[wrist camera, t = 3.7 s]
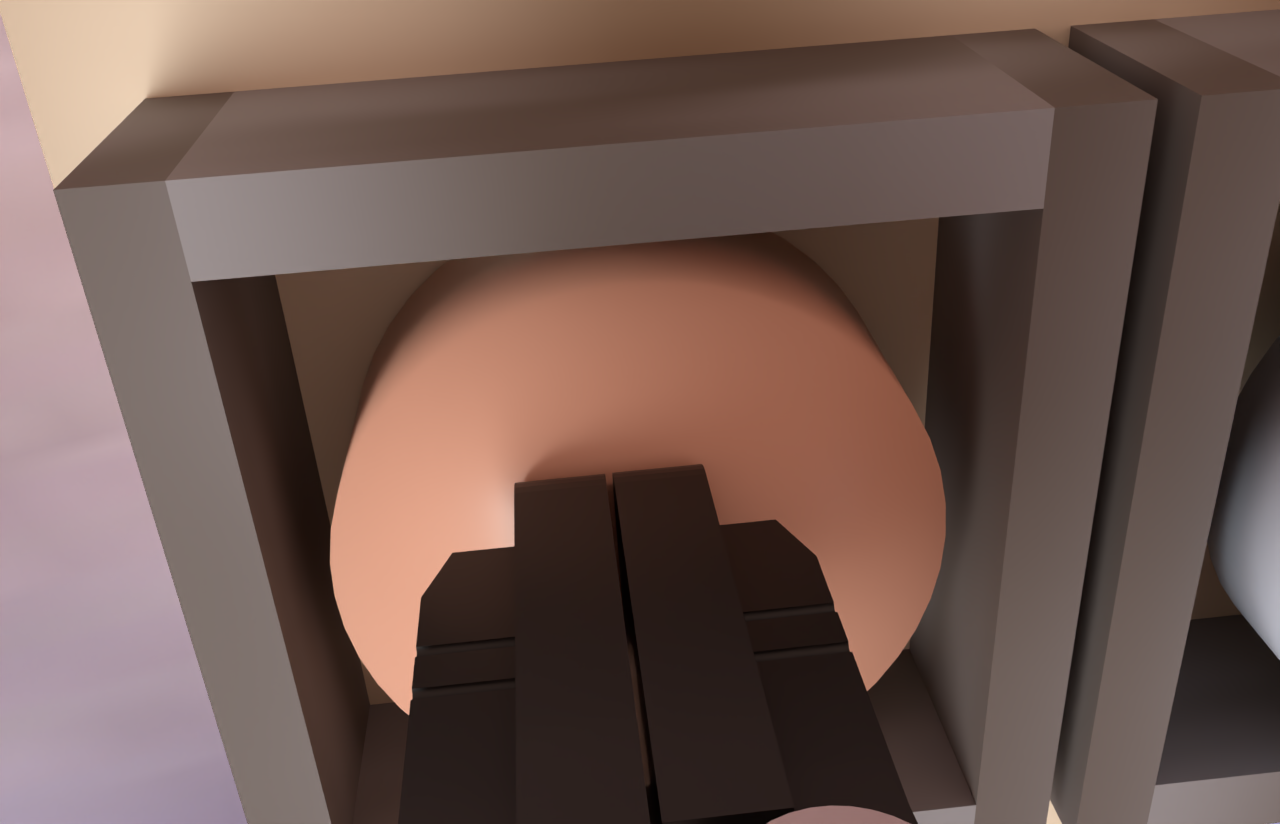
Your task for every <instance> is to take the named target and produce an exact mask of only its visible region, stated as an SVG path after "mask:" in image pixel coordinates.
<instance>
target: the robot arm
mask: <svg viewBox="0 0 1280 824" xmlns="http://www.w3.org/2000/svg"><path fill="white" fill-rule="evenodd" d="M612 479H613V493H614V505H615V517H616V530H617V542H618V554H619V567H620V579H621V591H622V600H621V592H620V585H619V577H618V569H617V561H616V554H615V546H614V538H613V530H612V523H611V515H610V507H609V499H608V491H607V484H606V477H605V474H598V475H588V476H578V477H567V478H557V479H547V480H537V481H527V482H517V483H515V484H514V546H513V547H503V548H493V549H484V550H474V551H464V552H454V553H452V554H451V555H450V557H449V558H448V560H447V561H446V563H445V564H444V565H443V567H442V568H441V570H440V571H439V572H438V574H437V575H436V577H435V578H434V580H433V581H432V582H431V584H430V585H429V587H428V588H427V590H426V591H425V592H424V594H423V595H422V597H421V602H420V612H419V622H418V632H417V642H416V651H417V657H415V661H414V671H413V681H412V700H411V701H410V711H409V720H408V730H407V740H406V750H405V760H404V770H403V780H402V789H401V799H400V809H399V819H398V824H918V822H917V820H916V818H915V816H914V814H913V812H912V810H911V808H910V805H909V803H908V800H907V797H906V795H905V792H904V789H903V787H902V784H901V781H900V779H899V776H898V773H897V771H896V768H895V765H894V762H893V760H892V757H891V754H890V752H889V749H888V746H887V744H886V741H885V738H884V736H883V733H882V730H881V728H880V725H879V722H878V719H877V717H876V714H875V711H874V709H873V706H872V703H871V701H870V698H869V695H868V693H867V690H866V687H865V685H864V682H863V679H862V676H861V674H860V671H859V668H858V666H857V663H856V660H855V658H854V655H853V652H850V650H849V643H848V639H847V636H846V633H845V631H844V628H843V625H842V623H841V620H840V617H839V615H838V612H835V609H834V601H833V599H832V596H831V593H830V590H829V588H828V585H827V582H826V580H825V577H824V574H823V572H822V569H821V566H820V564H819V561H818V558H817V556H816V555H815V554H814V553H813V552H812V551H810V550H809V549H808V548H807V547H806V546H805V545H804V544H803V543H802V542H800V541H799V540H798V539H797V538H796V537H795V536H794V535H793V534H791V533H790V532H789V531H788V530H787V529H786V528H785V527H784V526H783V525H781V524H780V523H779V522H778V521H777V520H776V519H775V520H765V521H755V522H745V523H736V524H726V525H720V524H719V521H718V517H717V513H716V509H715V505H714V502H713V498H712V494H711V490H710V487H709V483H708V479H707V475H706V472H705V469H704V466H703V465H702V464H695V465H685V466H675V467H665V468H655V469H645V470H635V471H625V472H615V473H612ZM622 603H623V608H622Z"/></svg>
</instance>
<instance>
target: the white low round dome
mask: <svg viewBox="0 0 1280 824" xmlns="http://www.w3.org/2000/svg"><path fill="white" fill-rule="evenodd" d="M1207 543H1208V548H1209V553H1210V558H1211V561H1212V564H1213V566H1214V569H1215V571H1216V574H1217V576H1218V579H1219V581H1220V584H1221V585H1222V587H1223V588H1224V590H1225V591H1226V593H1227V594H1228V596H1229V598H1230V599H1231V601H1232V602H1233V604H1234V605H1235V606H1236V608H1237V609H1238V610H1239V611H1240V613H1241V614H1242V615H1243V616H1244V617H1245V619H1246V620H1247V621H1248V622H1249V624H1250V625H1251V626H1252V627H1253V628H1254V630H1255V631H1256V632H1257V633H1258V635H1259V636H1260V637H1261V638H1262V639H1263V641H1264V642H1265V643H1266V644H1267V646H1268V647H1269V648H1270V649H1271V650H1272V652H1273V653H1274V654H1275V655H1276V656H1277V658H1278V659H1279V660H1280V336H1279V337H1278V338H1277V339H1276V340H1275V341H1274V343H1273V344H1272V345H1271V347H1270V348H1269V350H1268V351H1267V352H1266V354H1265V355H1264V357H1263V358H1262V359H1261V361H1260V362H1259V363H1258V365H1257V366H1256V368H1255V369H1254V370H1253V372H1252V373H1251V375H1250V377H1249V378H1248V380H1247V382H1246V384H1245V385H1244V387H1243V389H1242V391H1241V392H1240V394H1239V396H1238V399H1237V404H1236V408H1235V413H1234V418H1233V422H1232V427H1231V432H1230V437H1229V441H1228V446H1227V451H1226V455H1225V460H1224V465H1223V470H1222V474H1221V479H1220V484H1219V488H1218V493H1217V498H1216V502H1215V507H1214V512H1213V517H1212V521H1211V526H1210V531H1209V535H1208V540H1207Z"/></svg>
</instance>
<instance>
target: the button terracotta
mask: <svg viewBox="0 0 1280 824" xmlns="http://www.w3.org/2000/svg"><path fill="white" fill-rule="evenodd" d="M695 464H702V465H703V466H704V469H705V472H706V475H707V479H708V483H709V487H710V490H711V494H712V498H713V502H714V505H715V509H716V513H717V517H718V521H719V524H720V525H726V524H736V523H745V522H755V521H765V520H775V519H776V520H777V521H778V522H779V523H780V524H781V525H783V526H784V527H785V528H786V529H787V530H788V531H789V532H790V533H791V534H793V535H794V536H795V537H796V538H797V539H798V540H799V541H800V542H802V543H803V544H804V545H805V546H806V547H807V548H808V549H809V550H810V551H812V552H813V553H814V554H815V555H816V556H817V558H818V561H819V564H820V566H821V569H822V572H823V574H824V577H825V580H826V582H827V585H828V588H829V590H830V593H831V596H832V599H833V601H834V609H835V612H838V615H839V617H840V620H841V623H842V625H843V628H844V631H845V633H846V636H847V639H848V643H849V650H850V652H853V655H854V658H855V660H856V663H857V666H858V668H859V671H860V674H861V676H862V679H863V682H864V685H865V687H866V690H867V691H868V690H869V689H870V688H871V687H872V686H873V685H874V684H875V683H876V682H877V681H878V680H879V679H880V678H881V677H882V675H883V674H884V673H885V672H886V671H887V669H888V668H889V667H890V666H891V665H892V663H893V662H894V661H895V660H896V659H897V658H898V656H899V655H900V653H901V652H902V650H903V649H904V647H905V646H906V644H907V642H908V641H909V639H910V638H911V636H912V635H913V633H914V632H915V630H916V629H917V626H918V624H919V622H920V620H921V618H922V616H923V614H924V612H925V610H926V608H927V606H928V603H929V601H930V599H931V596H932V593H933V590H934V587H935V584H936V580H937V577H938V574H939V571H940V568H941V561H942V555H943V549H944V543H945V536H946V502H945V495H944V489H943V483H942V476H941V470H940V467H939V464H938V461H937V458H936V455H935V452H934V449H933V446H932V443H931V440H930V437H929V436H928V434H927V432H926V430H925V428H924V426H923V424H922V422H921V420H920V418H919V416H918V414H917V413H916V411H915V409H914V407H913V405H912V403H911V402H910V400H909V398H908V397H907V395H906V393H905V392H904V390H903V388H902V386H901V385H900V383H899V381H898V380H897V378H896V376H895V374H894V373H893V371H892V369H891V368H890V366H889V364H888V363H887V361H886V359H885V357H884V356H883V354H882V352H881V351H880V349H879V347H878V345H877V344H876V342H875V340H874V339H873V337H872V335H871V334H870V332H869V330H868V328H867V327H866V325H865V323H864V322H863V320H862V318H861V317H860V315H859V313H858V311H857V310H856V309H855V307H854V306H853V304H852V303H851V302H850V300H849V299H848V298H847V296H846V295H845V294H844V292H843V291H842V290H841V288H840V287H839V286H838V284H837V283H836V282H835V281H834V280H833V279H832V278H831V277H830V276H829V275H828V274H827V273H826V272H825V271H824V270H823V269H822V268H821V267H820V266H819V265H818V264H817V263H816V262H815V261H814V260H812V259H811V258H809V257H808V256H807V255H805V254H804V253H803V252H801V251H800V250H799V249H797V248H796V247H795V246H793V245H792V244H791V243H789V242H788V241H787V240H785V239H783V238H781V237H779V236H778V235H776V234H774V233H772V232H764V233H753V234H741V235H729V236H718V237H706V238H695V239H683V240H671V241H660V242H648V243H637V244H625V245H613V246H602V247H590V248H579V249H567V250H555V251H544V252H532V253H520V254H509V255H497V256H486V257H474V258H462V259H451V260H449V261H447V262H446V263H445V264H444V265H442V266H441V267H440V268H438V269H437V270H436V271H435V272H434V273H433V274H432V275H431V276H430V277H429V278H428V279H427V280H426V281H425V282H424V283H423V284H422V285H421V286H420V287H419V288H418V289H417V290H416V291H415V292H414V293H413V294H412V295H411V296H410V298H409V299H408V300H407V302H406V303H405V304H404V306H403V307H402V308H401V310H400V311H399V312H398V314H397V315H396V317H395V318H394V319H393V321H392V322H391V323H390V325H389V327H388V328H387V330H386V332H385V334H384V336H383V338H382V340H381V342H380V343H379V345H378V347H377V349H376V351H375V353H374V355H373V358H372V361H371V364H370V366H369V369H368V372H367V375H366V378H365V380H364V383H363V387H362V391H361V395H360V400H359V404H358V408H357V412H356V417H355V421H354V425H353V429H352V434H351V438H350V442H349V447H348V451H347V455H346V459H345V464H344V468H343V472H342V476H341V481H340V485H339V489H338V494H337V499H336V504H335V509H334V515H333V520H332V525H331V539H330V567H331V574H332V581H333V588H334V595H335V599H336V602H337V605H338V609H339V612H340V615H341V618H342V621H343V625H344V628H345V630H346V632H347V634H348V636H349V638H350V640H351V642H352V644H353V646H354V648H355V650H356V652H357V654H358V656H359V658H360V659H361V661H362V662H363V664H364V665H365V667H366V668H367V669H368V671H369V672H370V674H371V675H372V677H373V678H374V679H375V681H376V682H377V684H378V685H379V686H380V687H381V688H382V689H383V690H384V691H385V692H386V694H387V695H388V696H389V697H390V698H391V699H392V700H393V701H394V702H395V703H396V704H397V705H398V706H399V707H400V709H402V710H403V711H404V712H405V713H407V714H408V715H409V711H410V701H411V700H412V681H413V671H414V661H415V657H417V651H416V642H417V632H418V622H419V612H420V602H421V597H422V595H423V594H424V592H425V591H426V590H427V588H428V587H429V585H430V584H431V582H432V581H433V580H434V578H435V577H436V575H437V574H438V572H439V571H440V570H441V568H442V567H443V565H444V564H445V563H446V561H447V560H448V558H449V557H450V555H451V554H452V553H454V552H464V551H474V550H484V549H493V548H503V547H513V546H514V484H515V483H517V482H527V481H537V480H547V479H557V478H567V477H578V476H588V475H598V474H605V477H606V484H607V491H608V499H609V507H610V515H611V523H612V530H613V538H614V546H615V554H616V561H617V569H618V577H619V585H620V592H621V600H622V591H621V579H620V567H619V554H618V542H617V530H616V517H615V505H614V493H613V479H612V473H615V472H625V471H635V470H645V469H655V468H665V467H675V466H685V465H695ZM622 608H623V603H622Z"/></svg>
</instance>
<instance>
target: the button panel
mask: <svg viewBox="0 0 1280 824" xmlns="http://www.w3.org/2000/svg"><path fill="white" fill-rule="evenodd" d="M0 14H1V17H2V20H3V24H4V27H5V30H6V33H7V37H8V40H9V43H10V47H11V50H12V53H13V56H14V60H15V63H16V66H17V69H18V73H19V76H20V79H21V82H22V86H23V89H24V92H25V95H26V99H27V102H28V105H29V109H30V112H31V115H32V118H33V122H34V125H35V128H36V131H37V135H38V138H39V141H40V144H41V148H42V151H43V154H44V157H45V161H46V164H47V167H48V171H49V174H50V177H51V180H52V184H53V187H54V190H53V191H54V194H55V197H56V201H57V204H58V207H59V211H60V214H61V217H62V220H63V224H64V227H65V230H66V233H67V237H68V240H69V243H70V246H71V250H72V253H73V256H74V259H75V263H76V266H77V269H78V272H79V276H80V279H81V282H82V285H83V289H84V292H85V295H86V298H87V302H88V305H89V308H90V311H91V315H92V318H93V321H94V325H95V328H96V331H97V334H98V338H99V341H100V344H101V347H102V351H103V354H104V357H105V360H106V364H107V367H108V370H109V373H110V377H111V380H112V383H113V386H114V390H115V393H116V396H117V399H118V403H119V406H120V409H121V412H122V416H123V419H124V422H125V426H126V429H127V432H128V435H129V439H130V442H131V445H132V448H133V452H134V455H135V458H136V461H137V465H138V468H139V471H140V474H141V478H142V481H143V484H144V487H145V491H146V494H147V497H148V500H149V504H150V507H151V510H152V513H153V517H154V520H155V523H156V527H157V530H158V533H159V536H160V540H161V543H162V546H163V549H164V553H165V556H166V559H167V562H168V566H169V569H170V572H171V575H172V579H173V582H174V585H175V588H176V592H177V595H178V598H179V601H180V605H181V608H182V611H183V614H184V618H185V621H186V624H187V628H188V631H189V634H190V637H191V641H192V644H193V647H194V650H195V654H196V657H197V660H198V663H199V667H200V670H201V673H202V676H203V680H204V683H205V686H206V689H207V693H208V696H209V699H210V702H211V706H212V709H213V712H214V715H215V719H216V722H217V725H218V728H219V732H220V735H221V738H222V742H223V745H224V748H225V751H226V755H227V758H228V761H229V764H230V768H231V771H232V774H233V777H234V781H235V784H236V787H237V790H238V794H239V797H240V800H241V803H242V807H243V810H244V813H245V816H246V820H247V823H248V824H398V819H399V809H400V799H401V789H402V780H403V770H404V760H405V750H406V740H407V730H408V720H409V715H408V714H407V713H405V712H404V711H403V710H402V709H400V707H399V706H398V705H397V704H396V703H395V702H394V701H393V700H392V699H391V698H390V697H389V696H388V695H387V694H386V692H385V691H384V690H383V689H382V688H381V687H380V686H379V685H378V684H377V682H376V681H375V679H374V678H373V677H372V675H371V674H370V672H369V671H368V669H367V668H366V667H365V665H364V664H363V662H362V661H361V659H360V658H359V656H358V654H357V652H356V650H355V648H354V646H353V644H352V642H351V640H350V638H349V636H348V634H347V632H346V630H345V628H344V625H343V621H342V618H341V615H340V612H339V609H338V605H337V602H336V599H335V595H334V588H333V581H332V574H331V567H330V539H331V525H332V520H333V515H334V509H335V504H336V499H337V494H338V489H339V485H340V481H341V476H342V472H343V468H344V464H345V459H346V455H347V451H348V447H349V442H350V438H351V434H352V429H353V425H354V421H355V417H356V412H357V408H358V404H359V400H360V395H361V391H362V387H363V383H364V380H365V378H366V375H367V372H368V369H369V366H370V364H371V361H372V358H373V355H374V353H375V351H376V349H377V347H378V345H379V343H380V342H381V340H382V338H383V336H384V334H385V332H386V330H387V328H388V327H389V325H390V323H391V322H392V321H393V319H394V318H395V317H396V315H397V314H398V312H399V311H400V310H401V308H402V307H403V306H404V304H405V303H406V302H407V300H408V299H409V298H410V296H411V295H412V294H413V293H414V292H415V291H416V290H417V289H418V288H419V287H420V286H421V285H422V284H423V283H424V282H425V281H426V280H427V279H428V278H429V277H430V276H431V275H432V274H433V273H434V272H435V271H436V270H437V269H438V268H440V267H441V266H442V265H444V264H445V263H446V262H447V261H449V260H451V259H462V258H474V257H486V256H497V255H509V254H520V253H532V252H544V251H555V250H567V249H579V248H590V247H602V246H613V245H625V244H637V243H648V242H660V241H671V240H683V239H695V238H706V237H718V236H729V235H741V234H753V233H764V232H772V233H774V234H776V235H778V236H779V237H781V238H783V239H785V240H787V241H788V242H789V243H791V244H792V245H793V246H795V247H796V248H797V249H799V250H800V251H801V252H803V253H804V254H805V255H807V256H808V257H809V258H811V259H812V260H814V261H815V262H816V263H817V264H818V265H819V266H820V267H821V268H822V269H823V270H824V271H825V272H826V273H827V274H828V275H829V276H830V277H831V278H832V279H833V280H834V281H835V282H836V283H837V284H838V286H839V287H840V288H841V290H842V291H843V292H844V294H845V295H846V296H847V298H848V299H849V300H850V302H851V303H852V304H853V306H854V307H855V309H856V310H857V311H858V313H859V315H860V317H861V318H862V320H863V322H864V323H865V325H866V327H867V328H868V330H869V332H870V334H871V335H872V337H873V339H874V340H875V342H876V344H877V345H878V347H879V349H880V351H881V352H882V354H883V356H884V357H885V359H886V361H887V363H888V364H889V366H890V368H891V369H892V371H893V373H894V374H895V376H896V378H897V380H898V381H899V383H900V385H901V386H902V388H903V390H904V392H905V393H906V395H907V397H908V398H909V400H910V402H911V403H912V405H913V407H914V409H915V411H916V413H917V414H918V416H919V418H920V420H921V422H922V424H923V426H924V428H925V430H926V432H927V434H928V436H929V437H930V440H931V443H932V446H933V449H934V452H935V455H936V458H937V461H938V464H939V467H940V470H941V476H942V483H943V489H944V495H945V502H946V536H945V543H944V549H943V555H942V561H941V568H940V571H939V574H938V577H937V580H936V584H935V587H934V590H933V593H932V596H931V599H930V601H929V603H928V606H927V608H926V610H925V612H924V614H923V616H922V618H921V620H920V622H919V624H918V626H917V629H916V630H915V632H914V633H913V635H912V636H911V638H910V639H909V641H908V642H907V644H906V646H905V647H904V649H903V650H902V652H901V653H900V655H899V656H898V658H897V659H896V660H895V661H894V662H893V663H892V665H891V666H890V667H889V668H888V669H887V671H886V672H885V673H884V674H883V675H882V677H881V678H880V679H879V680H878V681H877V682H876V683H875V684H874V685H873V686H872V687H871V688H870V689H869V690H868V691H867V693H868V695H869V698H870V701H871V703H872V706H873V709H874V711H875V714H876V717H877V719H878V722H879V725H880V728H881V730H882V733H883V736H884V738H885V741H886V744H887V746H888V749H889V752H890V754H891V757H892V760H893V762H894V765H895V768H896V771H897V773H898V776H899V779H900V781H901V784H902V787H903V789H904V792H905V795H906V797H907V800H908V803H909V805H910V808H911V810H912V812H913V814H914V816H915V818H916V820H917V822H918V824H1270V823H1279V822H1280V660H1279V659H1278V658H1277V656H1276V655H1275V654H1274V653H1273V652H1272V650H1271V649H1270V648H1269V647H1268V646H1267V644H1266V643H1265V642H1264V641H1263V639H1262V638H1261V637H1260V636H1259V635H1258V633H1257V632H1256V631H1255V630H1254V628H1253V627H1252V626H1251V625H1250V624H1249V622H1248V621H1247V620H1246V619H1245V617H1244V616H1243V615H1242V614H1241V613H1240V611H1239V610H1238V609H1237V608H1236V606H1235V605H1234V604H1233V602H1232V601H1231V599H1230V598H1229V596H1228V594H1227V593H1226V591H1225V590H1224V588H1223V587H1222V585H1221V584H1220V581H1219V579H1218V576H1217V574H1216V571H1215V569H1214V566H1213V564H1212V561H1211V558H1210V553H1209V548H1208V543H1207V540H1208V535H1209V531H1210V526H1211V521H1212V517H1213V512H1214V507H1215V502H1216V498H1217V493H1218V488H1219V484H1220V479H1221V474H1222V470H1223V465H1224V460H1225V455H1226V451H1227V446H1228V441H1229V437H1230V432H1231V427H1232V422H1233V418H1234V413H1235V408H1236V404H1237V399H1238V396H1239V394H1240V392H1241V391H1242V389H1243V387H1244V385H1245V384H1246V382H1247V380H1248V378H1249V377H1250V375H1251V373H1252V372H1253V370H1254V369H1255V368H1256V366H1257V365H1258V363H1259V362H1260V361H1261V359H1262V358H1263V357H1264V355H1265V354H1266V352H1267V351H1268V350H1269V348H1270V347H1271V345H1272V344H1273V343H1274V341H1275V340H1276V339H1277V338H1278V337H1279V336H1280V0H0Z"/></svg>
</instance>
